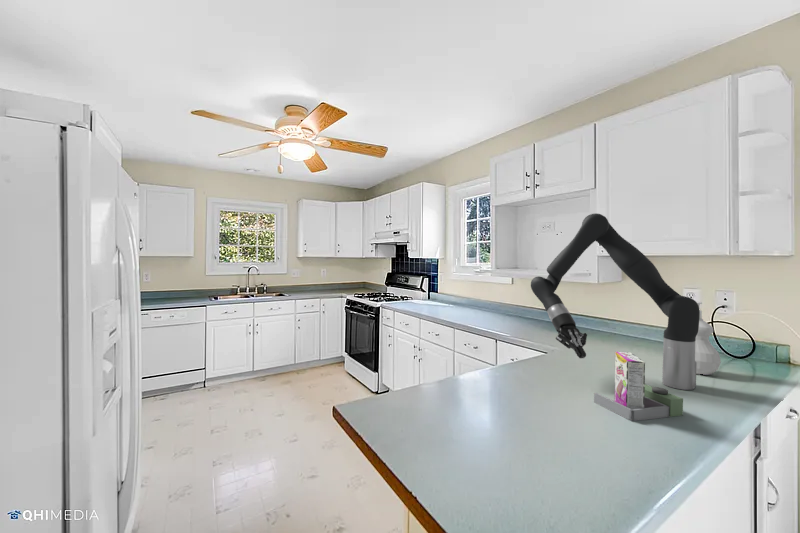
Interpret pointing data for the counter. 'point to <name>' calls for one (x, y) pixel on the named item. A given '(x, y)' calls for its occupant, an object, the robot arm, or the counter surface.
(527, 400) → the counter surface
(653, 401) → the frame with green block
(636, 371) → the candy bar box
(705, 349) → the soap bottle
